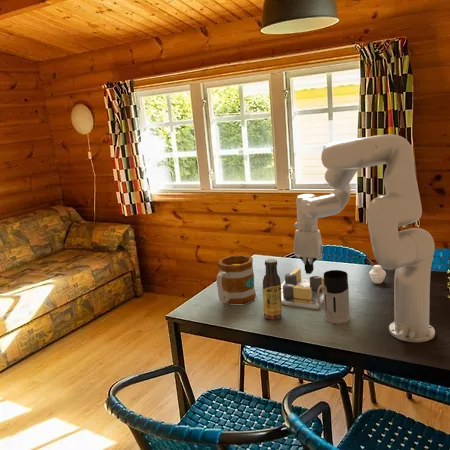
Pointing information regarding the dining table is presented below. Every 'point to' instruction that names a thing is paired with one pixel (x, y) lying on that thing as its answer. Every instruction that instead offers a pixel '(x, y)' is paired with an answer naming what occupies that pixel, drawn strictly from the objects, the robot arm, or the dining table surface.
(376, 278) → the white carved ornament
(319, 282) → the knob right
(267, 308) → the sauce bottle
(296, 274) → the knob left
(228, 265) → the mug
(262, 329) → the dining table surface
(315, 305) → the base plate
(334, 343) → the dining table surface
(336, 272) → the glass holder
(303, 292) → the knob front
